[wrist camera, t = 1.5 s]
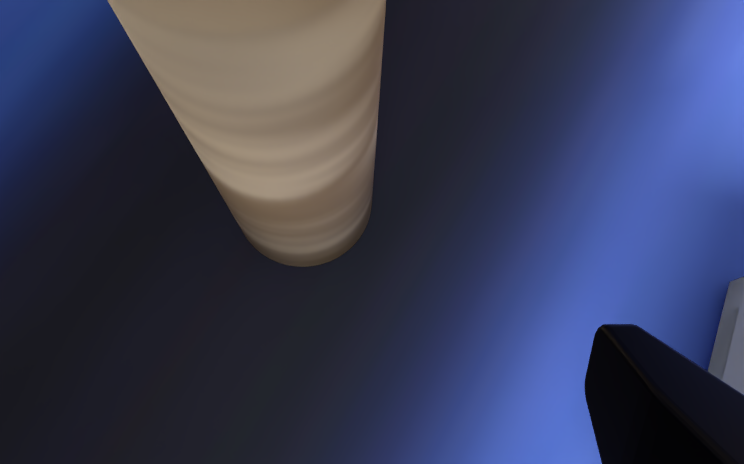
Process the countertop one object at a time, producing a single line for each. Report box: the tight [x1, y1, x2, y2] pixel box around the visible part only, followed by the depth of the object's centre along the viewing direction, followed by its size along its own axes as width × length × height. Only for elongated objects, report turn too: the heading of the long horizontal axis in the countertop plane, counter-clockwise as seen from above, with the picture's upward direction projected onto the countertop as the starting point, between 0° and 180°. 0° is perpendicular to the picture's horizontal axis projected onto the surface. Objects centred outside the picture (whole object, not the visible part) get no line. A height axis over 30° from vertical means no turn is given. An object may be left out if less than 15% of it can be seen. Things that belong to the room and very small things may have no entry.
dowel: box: [108, 0, 386, 267], centre depth 15 cm, size 4×4×13 cm
